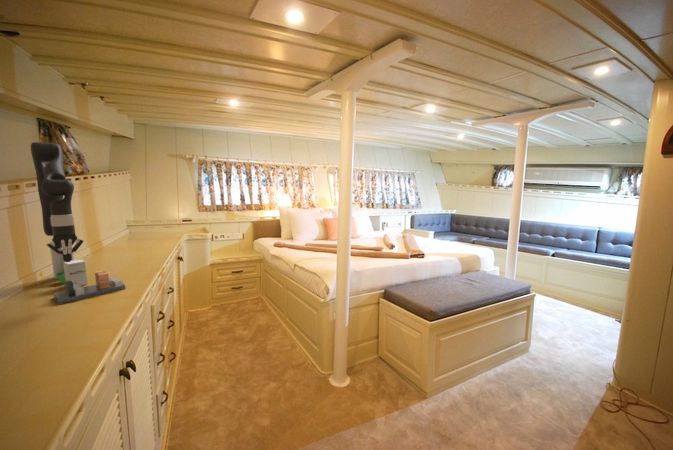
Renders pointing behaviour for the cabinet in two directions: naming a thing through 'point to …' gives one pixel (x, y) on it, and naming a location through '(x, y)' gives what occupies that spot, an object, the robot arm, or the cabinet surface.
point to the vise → (90, 291)
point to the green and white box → (62, 276)
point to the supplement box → (76, 272)
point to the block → (102, 279)
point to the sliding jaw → (73, 288)
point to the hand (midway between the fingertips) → (68, 261)
